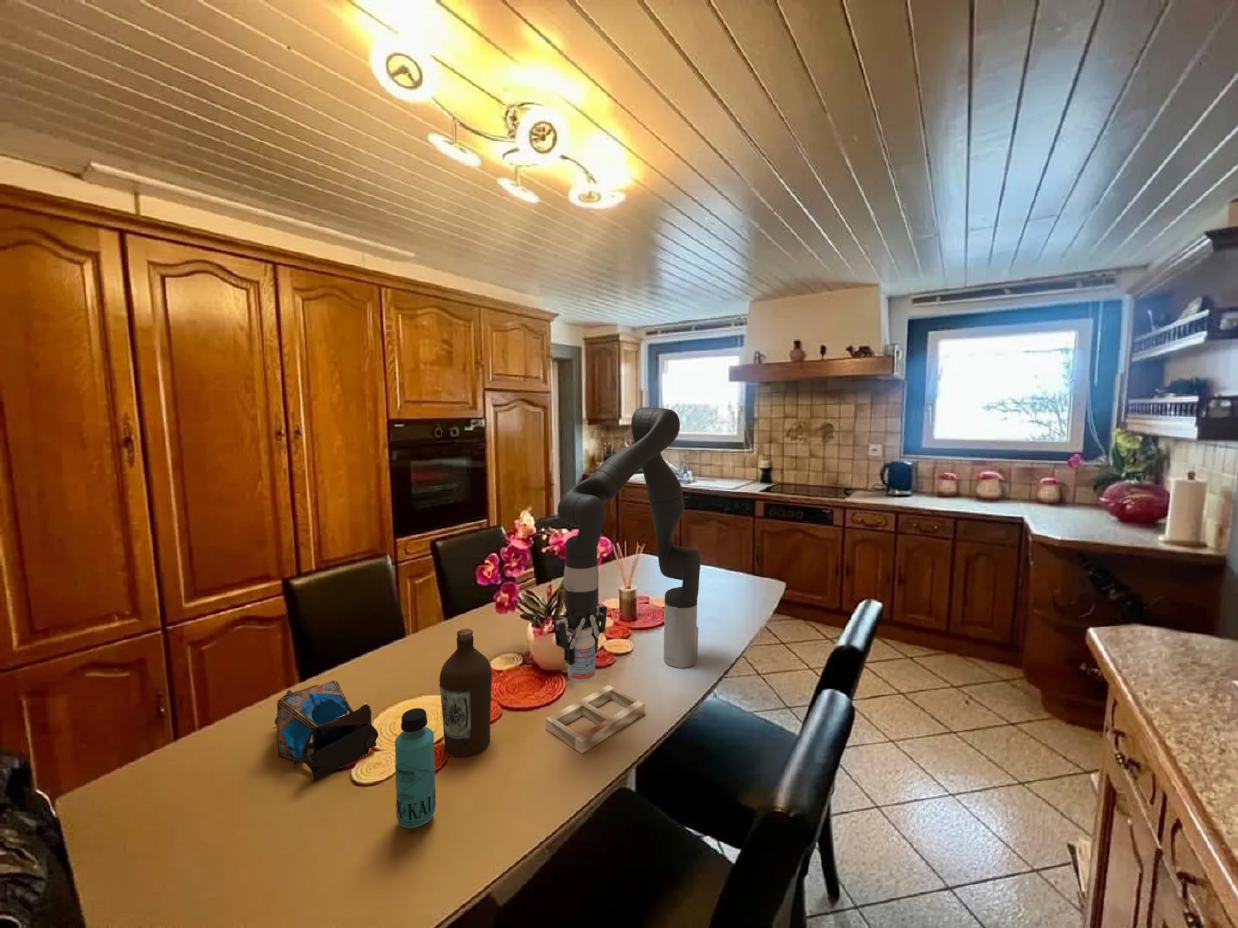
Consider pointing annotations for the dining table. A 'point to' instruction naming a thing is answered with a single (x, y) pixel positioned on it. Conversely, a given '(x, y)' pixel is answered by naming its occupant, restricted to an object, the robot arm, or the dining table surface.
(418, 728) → the beverage bottle
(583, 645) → the pill bottle
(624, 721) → the plate
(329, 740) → the lantern
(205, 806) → the dining table surface
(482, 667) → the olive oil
